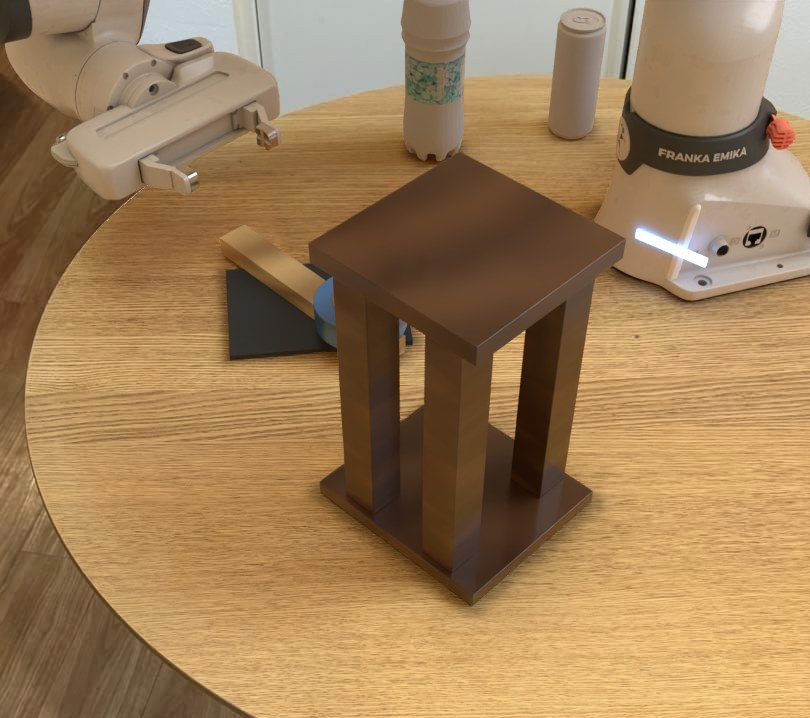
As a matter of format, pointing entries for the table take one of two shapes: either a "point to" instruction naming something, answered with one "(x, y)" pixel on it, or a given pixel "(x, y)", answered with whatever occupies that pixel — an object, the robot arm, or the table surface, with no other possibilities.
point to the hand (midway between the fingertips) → (235, 161)
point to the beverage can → (576, 72)
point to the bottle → (434, 75)
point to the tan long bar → (288, 279)
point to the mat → (271, 320)
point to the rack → (461, 366)
